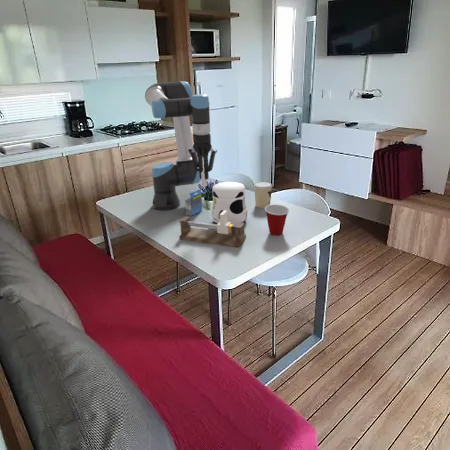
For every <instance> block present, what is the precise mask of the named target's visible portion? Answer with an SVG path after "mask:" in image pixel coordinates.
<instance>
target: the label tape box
mask: <svg viewBox="0 0 450 450" xmlns="http://www.w3.org/2000/svg"><path fill="white" fill-rule="evenodd" d="M189 196H190V197H189V198H186V199H185V214H187V216H189V215H190V216H189V217H192V215H193V216H194V215H196V214H198V213H200V212H202V211H203V207H202V206H203V205H202V204H203V203H202V202H203V201H202V200H203V199H202V189H198V190H194V191H192V192H190V193H189Z"/></svg>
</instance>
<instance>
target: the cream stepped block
mask: <svg viewBox="0 0 450 450" xmlns="http://www.w3.org/2000/svg"><path fill="white" fill-rule="evenodd" d="M216 224H217V223H216ZM230 224H231V222H228V216H227V211H225V210H224V211H223V212H222V213H221V214H220V222H219V223H218V224H217V229H216V231H217V233H222V234H229V228H228V226H229V225H230Z"/></svg>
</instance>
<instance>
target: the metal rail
mask: <svg viewBox="0 0 450 450" xmlns="http://www.w3.org/2000/svg"><path fill="white" fill-rule="evenodd" d="M187 226H191V227H194V228H195V227H196V228H197V227H198V228H202V229H210V230H217V223H210V222H209V223H208V222H201V221H200V222H199V221H192V220H190V221H188V222H187ZM236 226H237V223H234V224H232V223H231V224H230V225H229V226H228V228H229V233H232V234H235V227H236Z"/></svg>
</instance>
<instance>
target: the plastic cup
mask: <svg viewBox="0 0 450 450" xmlns="http://www.w3.org/2000/svg"><path fill="white" fill-rule="evenodd" d="M264 210H265V214H266V219H267V226H268V232H269V234H270V235H271V236H276V237H279V236H281V235H282V234H283V233H284V230H285V229H284V228H285V225H286V220H287V216H288V214H289V212H290V209H289V207H287V206H284V205H282V204H270V205H268V206H266V207H265V208H264Z"/></svg>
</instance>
